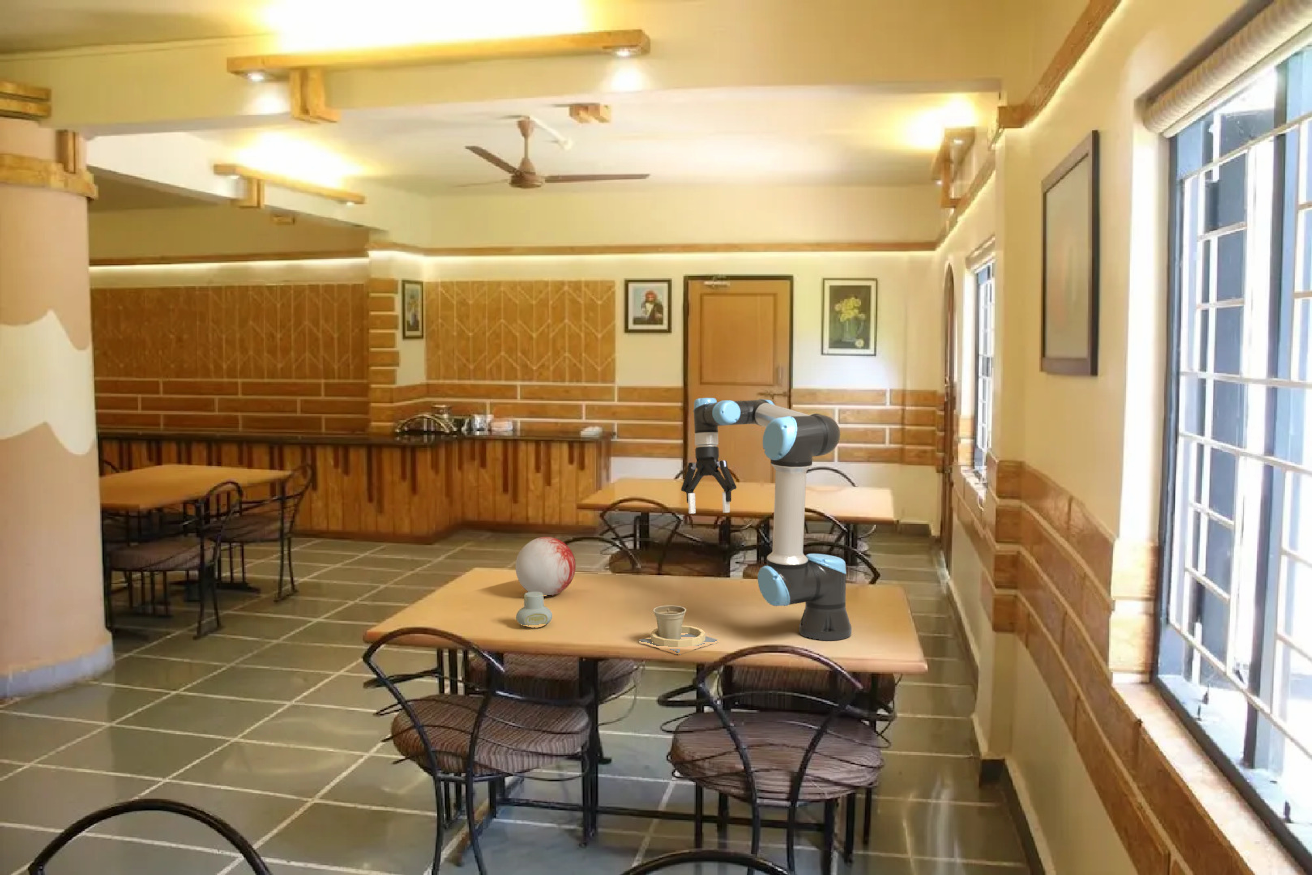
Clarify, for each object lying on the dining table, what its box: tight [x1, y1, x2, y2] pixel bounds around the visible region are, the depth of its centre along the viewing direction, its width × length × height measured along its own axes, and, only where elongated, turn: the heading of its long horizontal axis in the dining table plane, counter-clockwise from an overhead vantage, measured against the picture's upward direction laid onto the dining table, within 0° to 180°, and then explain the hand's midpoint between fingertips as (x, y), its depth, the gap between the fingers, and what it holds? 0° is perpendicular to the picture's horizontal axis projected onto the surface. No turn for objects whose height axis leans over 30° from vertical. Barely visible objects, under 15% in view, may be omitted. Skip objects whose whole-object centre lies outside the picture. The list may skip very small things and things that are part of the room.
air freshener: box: [515, 591, 553, 626], centre depth 315 cm, size 11×8×10 cm
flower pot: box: [652, 604, 687, 640], centre depth 296 cm, size 9×9×9 cm
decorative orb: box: [515, 536, 577, 596], centre depth 351 cm, size 21×20×20 cm
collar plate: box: [638, 625, 718, 653], centre depth 296 cm, size 16×16×3 cm
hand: (709, 513), depth 331 cm, fingers open, 13 cm apart
